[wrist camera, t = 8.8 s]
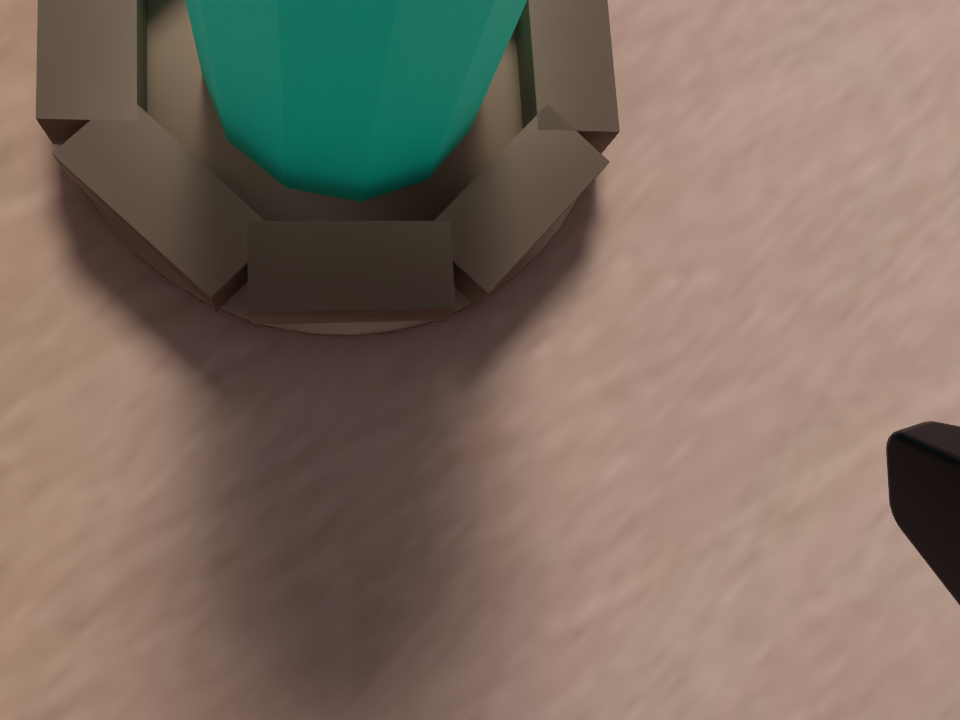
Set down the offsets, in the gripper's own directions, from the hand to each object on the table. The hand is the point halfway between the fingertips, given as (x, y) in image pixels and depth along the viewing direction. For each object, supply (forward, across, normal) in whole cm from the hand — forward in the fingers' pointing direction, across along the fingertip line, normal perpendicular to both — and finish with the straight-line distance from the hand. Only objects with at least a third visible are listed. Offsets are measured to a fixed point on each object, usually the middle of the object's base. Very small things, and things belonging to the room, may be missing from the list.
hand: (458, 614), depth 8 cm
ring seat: (+14, -1, -4) cm, 15 cm away
